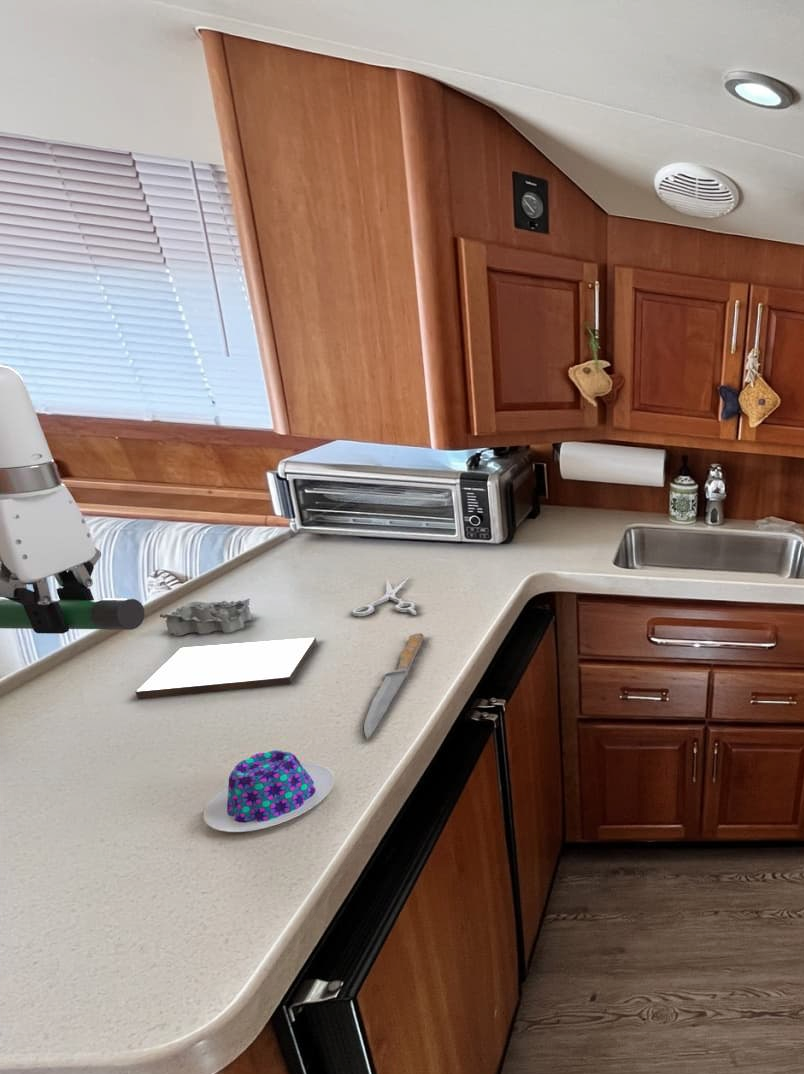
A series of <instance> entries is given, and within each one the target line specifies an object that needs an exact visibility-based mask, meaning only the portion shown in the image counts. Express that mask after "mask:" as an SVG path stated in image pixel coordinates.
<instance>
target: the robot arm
mask: <svg viewBox="0 0 804 1074" xmlns="http://www.w3.org/2000/svg"><path fill="white" fill-rule="evenodd" d="M40 423H41V422H40V421H39V417H38V415H37V412H36V409H35V407H34V405H33V401H32V399H31V396H30V394H29V391H28V388H27V386H26V382H25V381H24V379H23V377H22V375H20V374H19V372H17V371H16V370H15V369H13V368H11V367H9V366H6V365H2V364H0V598H3V599H9V600H12V601H14V602H15V603H16V604H17V605H23V607H24V609H25V611H26V614H27V616H28V618H29V621H30V623H31V625H32V628H33V629H32V630H33V632H34V633H36V634H49V635H50V634H51V635H52V634H59V635H60V634H66V633H68V632H69V631H70V629H69V627H68V624H67V623H66V621H65V617H64V614H63V612H62V610H61V607H60V605H59V603H58V602H51V601H52V600H53V599H52V596H51V592H50V587H49V583H48V579H47V578H50V577H52V576H54V578H55V580H56V582H57V583H58V585H59V586H60V587H58V588H56V589H55V590H56V594H57V597H58V600H95V598H94V596H93V593H92V590H91V587H92V586H93V584H94V582H93V578H91V577H92V575H93V571H94V569H95V565H96V564H97V562H98V561H99V560H100V559H101V557H102V552H101V551H100V550H99V549H98V548H97V547H96V546H95V542H94V539H93V536H92V534H91V532H90V529H89V525H88V524H87V522H86V520H85V517H84V516H83V514H82V511H81V509H80V508H79V506H78V504H77V502H76V501H75V499H74V496H73V495H72V494H71V492H70V491H69V489H68V487H67V486H66V485H65V484H64V483H63V482H62V479H61V477H60V474H59V471H58V465H57V464H56V462H55V461H54V458H53V456H52V455H53V454H52V452H51V450H50V447H49V445H48V442H47V439H46V436H45V434H44V431H43V429H42V426H41V424H40ZM27 585H31V586H32V588H33V590H31V589H28V586H27Z"/></svg>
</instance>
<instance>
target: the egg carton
mask: <svg viewBox="0 0 804 1074" xmlns="http://www.w3.org/2000/svg"><path fill="white" fill-rule="evenodd" d="M250 601H251V599H250V598H247V599H244V600H238V601H234V600H231V601H227V600H223V601H212V602H203V601H191V602H188V603H186V604H184V605H182V606H181V607H177V608H176V611H171V613H170V614H168V613H160V614H159V617H160V618H162V619H165V624H166V627H167V631H168V633H169V634H174V636H177V637H178V636H183V635H186V634H189V633H198V634H200V635H203V634H204V635H205V634H210V633H212V632H217V631H218V632H219V631H221V632H223V633H224V634H227V633H228V634H229V633H232V632H235V631H239V630H241V629H243V628H244V627H245V622H247V621H250V620H252V619H253V616H252V613H251V610H250V609H251V608H250Z"/></svg>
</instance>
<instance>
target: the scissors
mask: <svg viewBox="0 0 804 1074" xmlns="http://www.w3.org/2000/svg"><path fill="white" fill-rule="evenodd" d="M409 578H410V577H407V578H405V579H404V580H403V581H402V582H400V583H399V584H398V585H396V586H395V587H394V588H393V587H392V585H391V583H390V581H389V579H388V578H386V587H385V589H386V590H385V591H386V592H385V594H384V595H383V596H381V597H380V598H379V599H376V600H372V602H371V603H369V604H365V605H359V606H358V607H355V608H353V610H352V615H354V616H355V617H364V616H368V615H370V614H373V612H375V606H378V605H380V604H382V603H385V602H388V601H393V602H395V603H397V604H395V605H394V608H395V610H396V611H397V612H401V613H410V614H411V615H412V616H416V615H417V610H415V609H416V606H415V603H414V602H411V601H405V600H403V599H402V598H398V597H397V596H396V594H397V593H398V592H399V591H400V589H402V588H403V586H404V585H405V583H407V581H408V579H409Z"/></svg>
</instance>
